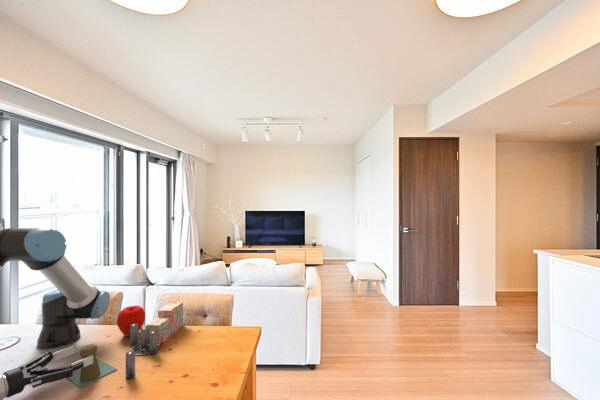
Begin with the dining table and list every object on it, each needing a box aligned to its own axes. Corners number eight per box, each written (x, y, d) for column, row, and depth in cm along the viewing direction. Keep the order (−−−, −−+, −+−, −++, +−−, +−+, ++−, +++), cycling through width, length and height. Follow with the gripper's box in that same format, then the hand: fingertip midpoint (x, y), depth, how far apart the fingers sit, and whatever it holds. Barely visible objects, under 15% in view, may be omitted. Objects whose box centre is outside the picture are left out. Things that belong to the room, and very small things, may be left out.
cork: (89, 382, 102) (87, 351, 102) (75, 380, 103) (73, 349, 103) (104, 371, 108) (102, 342, 108) (91, 370, 109) (89, 341, 109)
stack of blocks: (159, 346, 128) (159, 318, 128) (145, 345, 129) (145, 318, 129) (183, 325, 150) (183, 301, 150) (171, 324, 150) (171, 301, 150)
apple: (124, 343, 131) (124, 313, 131) (111, 336, 137) (111, 308, 137) (150, 332, 141) (150, 305, 141) (136, 327, 147) (136, 300, 147)
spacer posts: (93, 361, 116) (93, 338, 116) (136, 342, 132) (136, 322, 132) (128, 380, 104) (128, 355, 104) (172, 357, 119) (172, 335, 119)
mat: (59, 373, 108) (59, 372, 108) (95, 358, 119) (95, 357, 119) (80, 387, 100) (80, 386, 100) (116, 369, 110) (116, 368, 110)
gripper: (-10, 384, 95) (67, 354, 114) (19, 413, 83) (100, 374, 101) (-10, 362, 95) (67, 335, 114) (19, 387, 83) (100, 352, 101)
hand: (83, 353), depth 107 cm, fingers open, 13 cm apart
